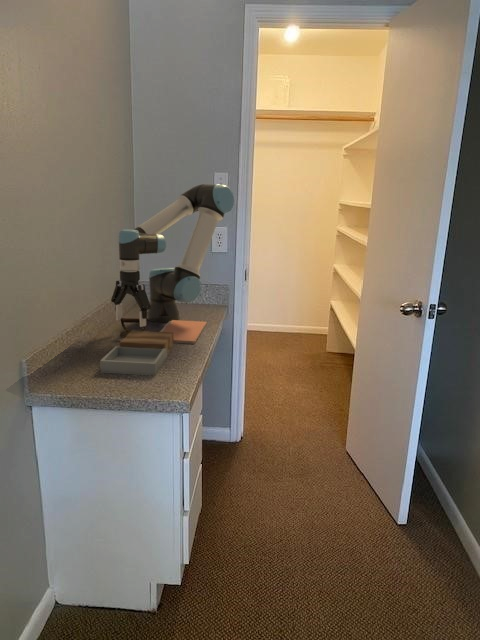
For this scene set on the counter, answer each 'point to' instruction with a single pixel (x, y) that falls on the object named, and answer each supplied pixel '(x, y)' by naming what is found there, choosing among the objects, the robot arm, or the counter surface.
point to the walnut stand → (148, 340)
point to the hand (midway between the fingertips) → (131, 323)
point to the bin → (133, 360)
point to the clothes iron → (129, 320)
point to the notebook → (184, 330)
